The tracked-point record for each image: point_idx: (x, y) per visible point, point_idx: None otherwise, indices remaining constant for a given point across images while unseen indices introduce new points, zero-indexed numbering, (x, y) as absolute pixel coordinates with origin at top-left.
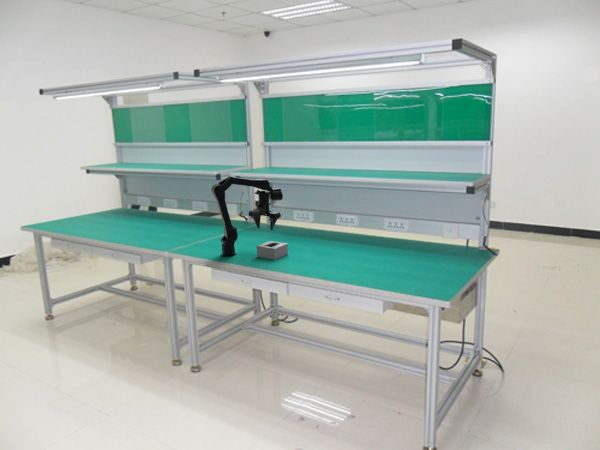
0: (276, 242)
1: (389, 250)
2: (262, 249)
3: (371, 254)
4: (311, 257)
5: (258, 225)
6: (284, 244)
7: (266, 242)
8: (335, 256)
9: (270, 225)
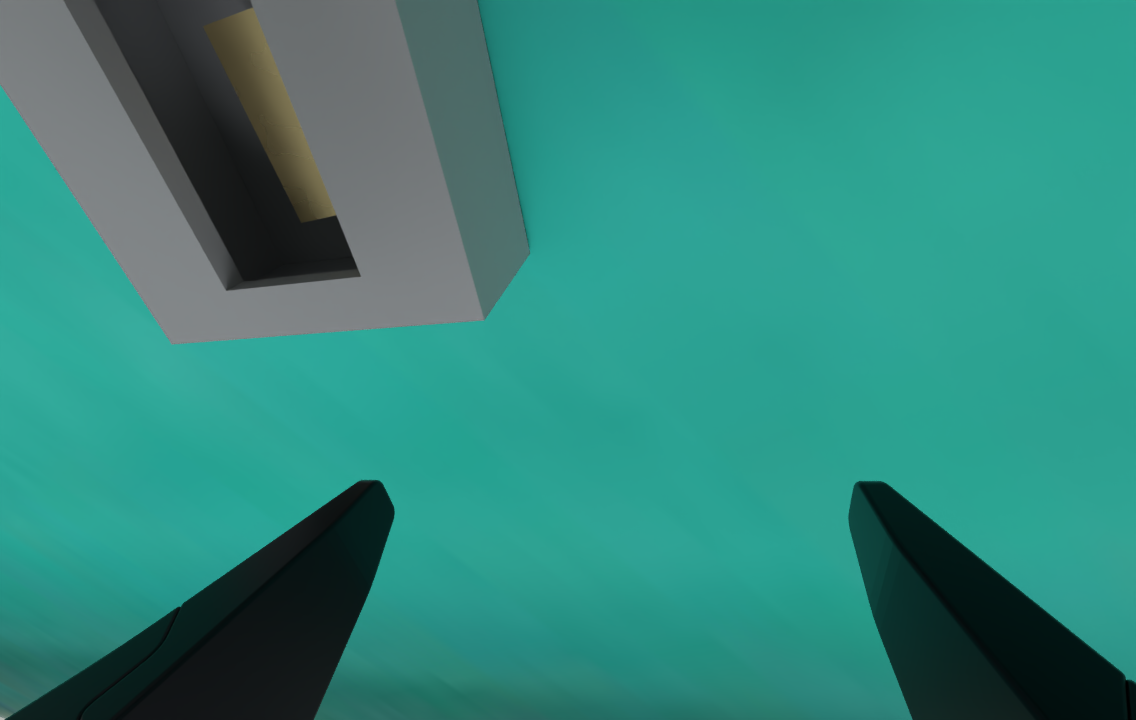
0: (325, 304)
1: (70, 627)
2: None
3: (23, 553)
4: (84, 328)
5: (898, 589)
6: (142, 280)
7: (442, 200)
8: (48, 440)
9: (255, 589)
